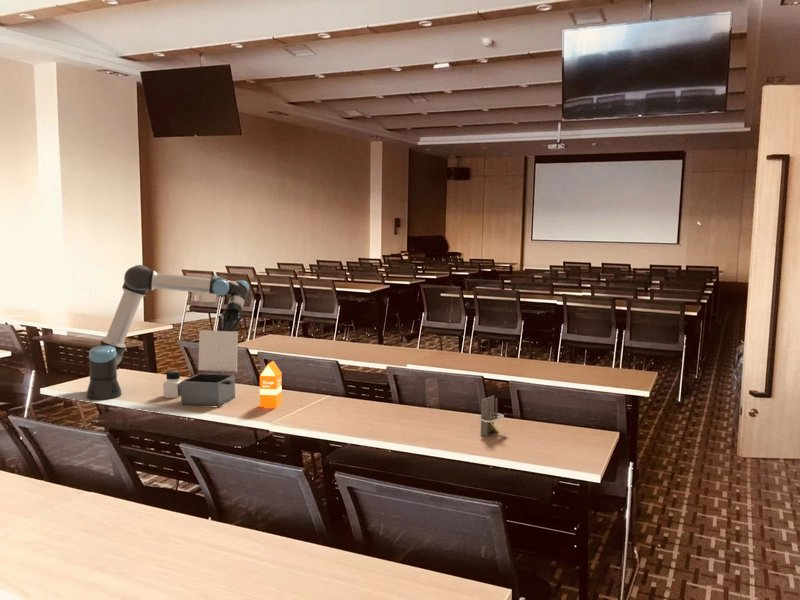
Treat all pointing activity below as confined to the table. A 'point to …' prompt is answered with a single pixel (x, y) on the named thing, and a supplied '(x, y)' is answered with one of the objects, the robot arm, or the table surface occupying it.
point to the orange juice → (271, 386)
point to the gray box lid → (218, 351)
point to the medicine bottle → (172, 385)
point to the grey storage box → (207, 390)
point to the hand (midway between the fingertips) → (221, 344)
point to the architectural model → (489, 415)
